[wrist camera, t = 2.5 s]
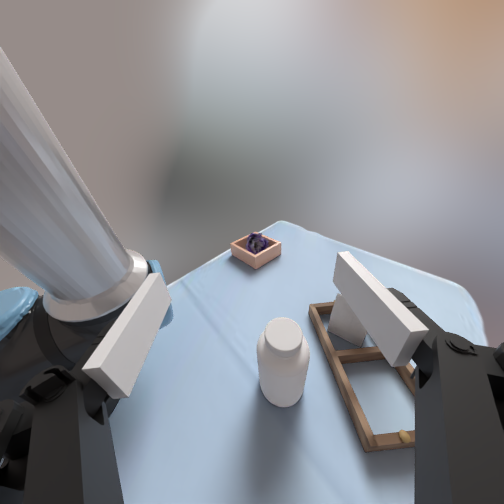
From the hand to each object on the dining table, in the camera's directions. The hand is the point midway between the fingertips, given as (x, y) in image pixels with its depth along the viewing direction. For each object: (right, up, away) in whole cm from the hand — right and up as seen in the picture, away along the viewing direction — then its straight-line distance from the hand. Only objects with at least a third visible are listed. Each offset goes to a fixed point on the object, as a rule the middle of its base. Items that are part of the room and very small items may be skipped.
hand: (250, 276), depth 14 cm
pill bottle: (+6, -22, +20) cm, 30 cm away
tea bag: (+21, -16, +27) cm, 38 cm away
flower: (+1, +1, +58) cm, 58 cm away
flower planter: (+2, +1, +56) cm, 56 cm away
